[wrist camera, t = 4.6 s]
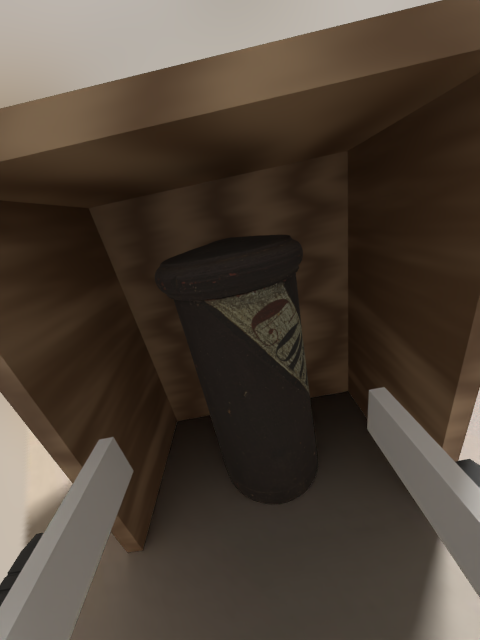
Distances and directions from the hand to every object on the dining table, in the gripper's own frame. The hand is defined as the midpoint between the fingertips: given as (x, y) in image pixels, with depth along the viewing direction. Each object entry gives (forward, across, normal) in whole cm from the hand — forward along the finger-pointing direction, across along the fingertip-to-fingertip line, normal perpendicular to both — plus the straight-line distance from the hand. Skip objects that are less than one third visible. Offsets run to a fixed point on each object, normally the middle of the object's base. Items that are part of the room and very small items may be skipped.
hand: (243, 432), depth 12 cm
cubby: (+7, +1, -11) cm, 13 cm away
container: (+6, +1, -11) cm, 13 cm away
